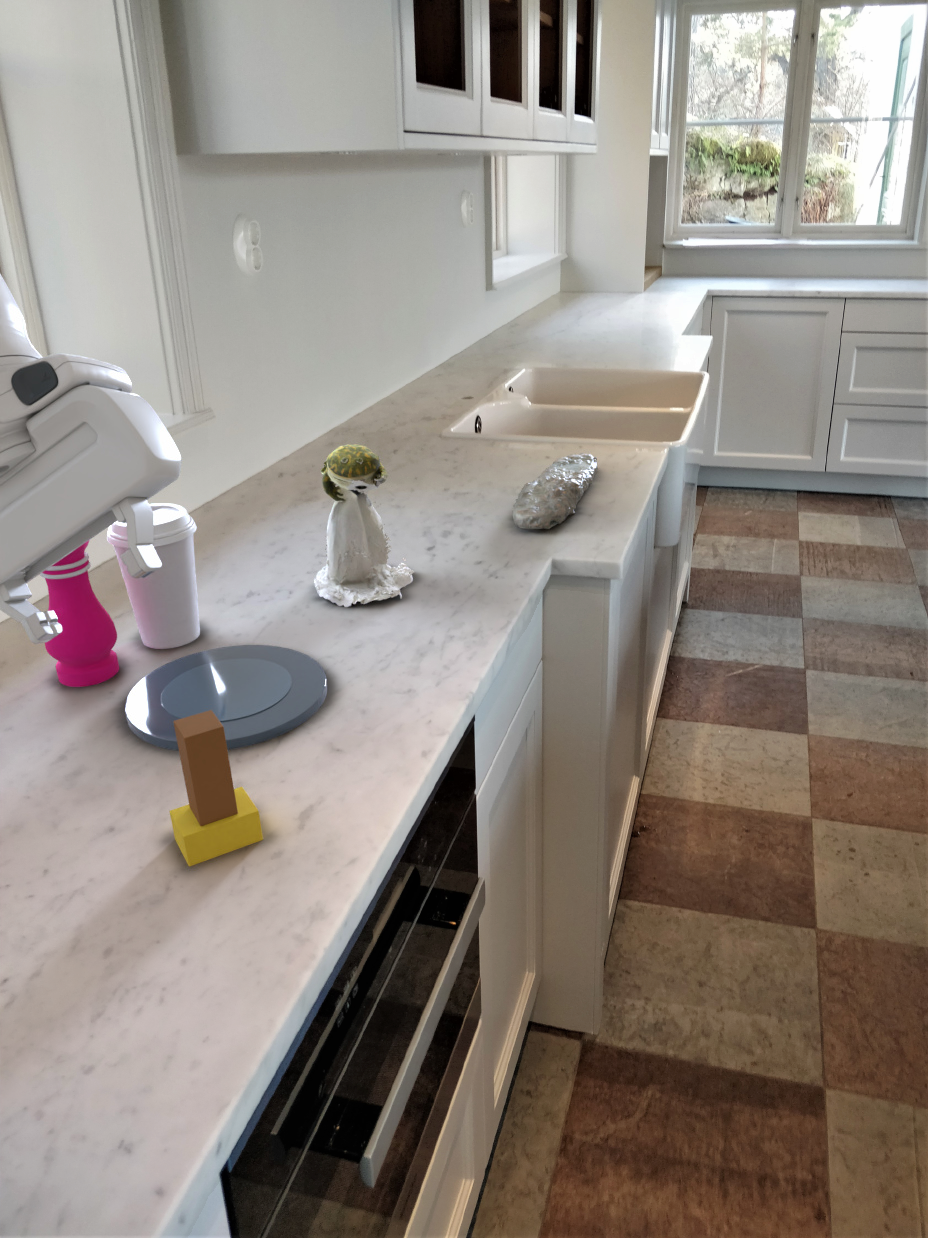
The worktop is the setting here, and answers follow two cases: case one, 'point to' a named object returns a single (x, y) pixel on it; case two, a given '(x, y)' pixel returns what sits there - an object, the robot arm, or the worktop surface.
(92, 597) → the pepper mill
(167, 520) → the coffee cup
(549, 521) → the elongated rock
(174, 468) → the robot arm
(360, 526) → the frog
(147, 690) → the plate
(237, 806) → the sponge brush
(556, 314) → the worktop surface
